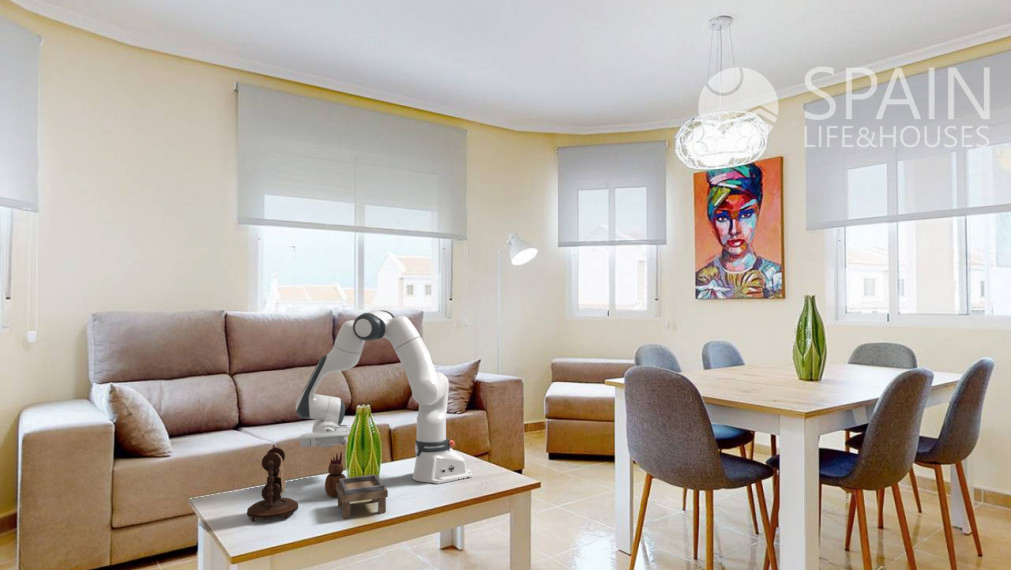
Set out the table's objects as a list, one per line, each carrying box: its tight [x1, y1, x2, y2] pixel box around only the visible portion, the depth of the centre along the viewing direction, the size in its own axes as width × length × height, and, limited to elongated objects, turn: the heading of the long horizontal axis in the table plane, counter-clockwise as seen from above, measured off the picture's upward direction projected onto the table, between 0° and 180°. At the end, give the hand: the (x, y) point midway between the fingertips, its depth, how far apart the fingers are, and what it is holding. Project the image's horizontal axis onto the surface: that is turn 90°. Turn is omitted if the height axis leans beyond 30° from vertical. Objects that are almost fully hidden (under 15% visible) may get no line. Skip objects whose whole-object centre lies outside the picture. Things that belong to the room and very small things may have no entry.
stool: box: [336, 474, 389, 520], centre depth 184 cm, size 14×14×8 cm
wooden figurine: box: [324, 451, 347, 499], centre depth 196 cm, size 7×6×15 cm
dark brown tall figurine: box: [246, 447, 299, 523], centre depth 179 cm, size 15×15×20 cm
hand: (330, 443), depth 207 cm, fingers open, 8 cm apart
